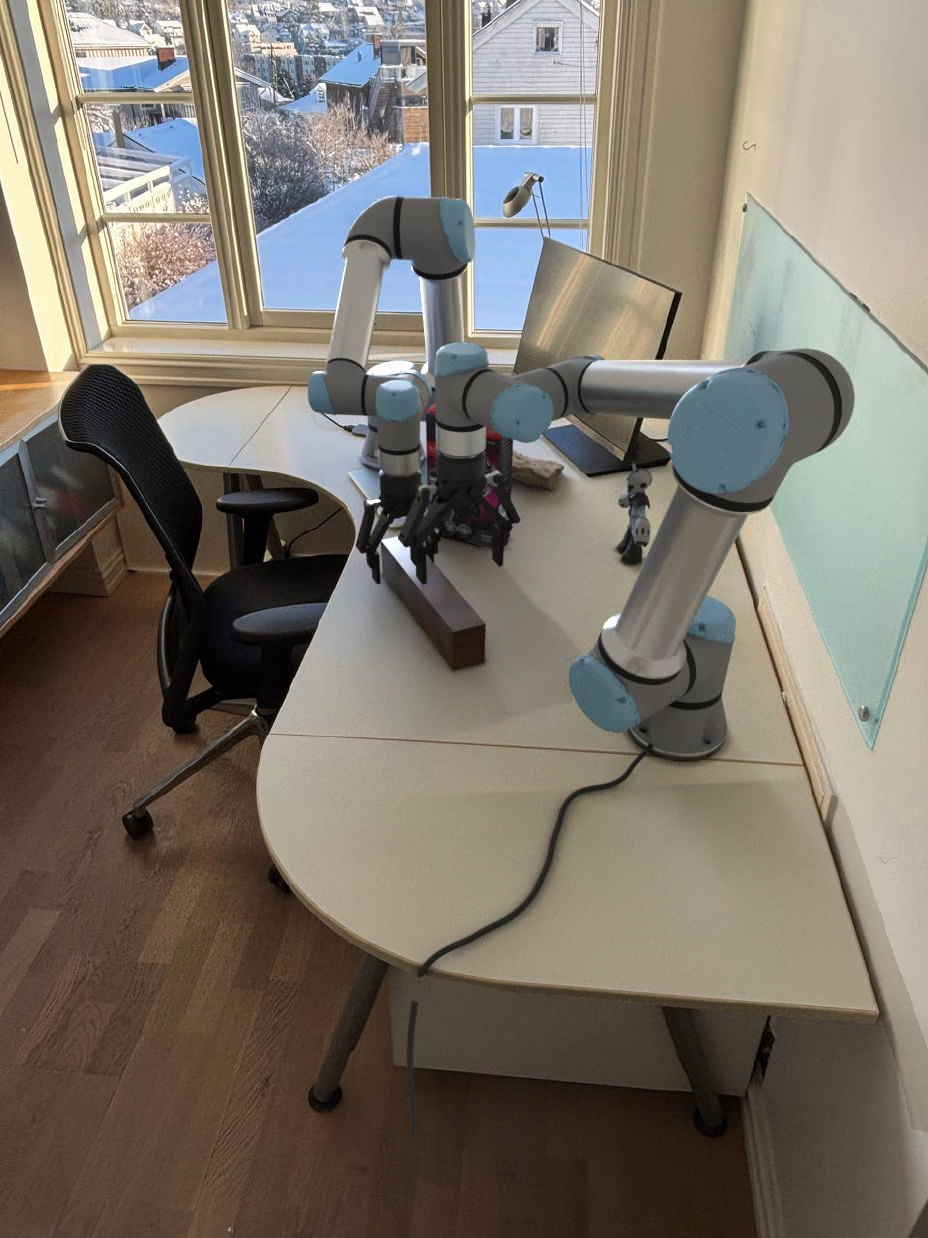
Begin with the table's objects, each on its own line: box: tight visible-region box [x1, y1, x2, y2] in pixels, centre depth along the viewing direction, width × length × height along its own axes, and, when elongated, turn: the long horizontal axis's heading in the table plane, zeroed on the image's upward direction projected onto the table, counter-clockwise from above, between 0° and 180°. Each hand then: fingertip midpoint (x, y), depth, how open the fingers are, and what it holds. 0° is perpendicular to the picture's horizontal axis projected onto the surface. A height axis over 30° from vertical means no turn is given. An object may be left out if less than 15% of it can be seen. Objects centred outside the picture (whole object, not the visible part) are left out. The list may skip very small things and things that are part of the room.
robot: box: [615, 459, 653, 566], centre depth 183 cm, size 20×5×20 cm, turn 3°
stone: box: [512, 449, 565, 490], centre depth 217 cm, size 21×15×6 cm
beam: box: [380, 536, 487, 672], centre depth 167 cm, size 34×6×8 cm, turn 25°
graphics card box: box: [425, 404, 514, 549], centre depth 187 cm, size 17×7×27 cm, turn 62°
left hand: (403, 574), depth 178 cm, fingers open, 10 cm apart
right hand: (460, 571), depth 150 cm, fingers open, 13 cm apart
